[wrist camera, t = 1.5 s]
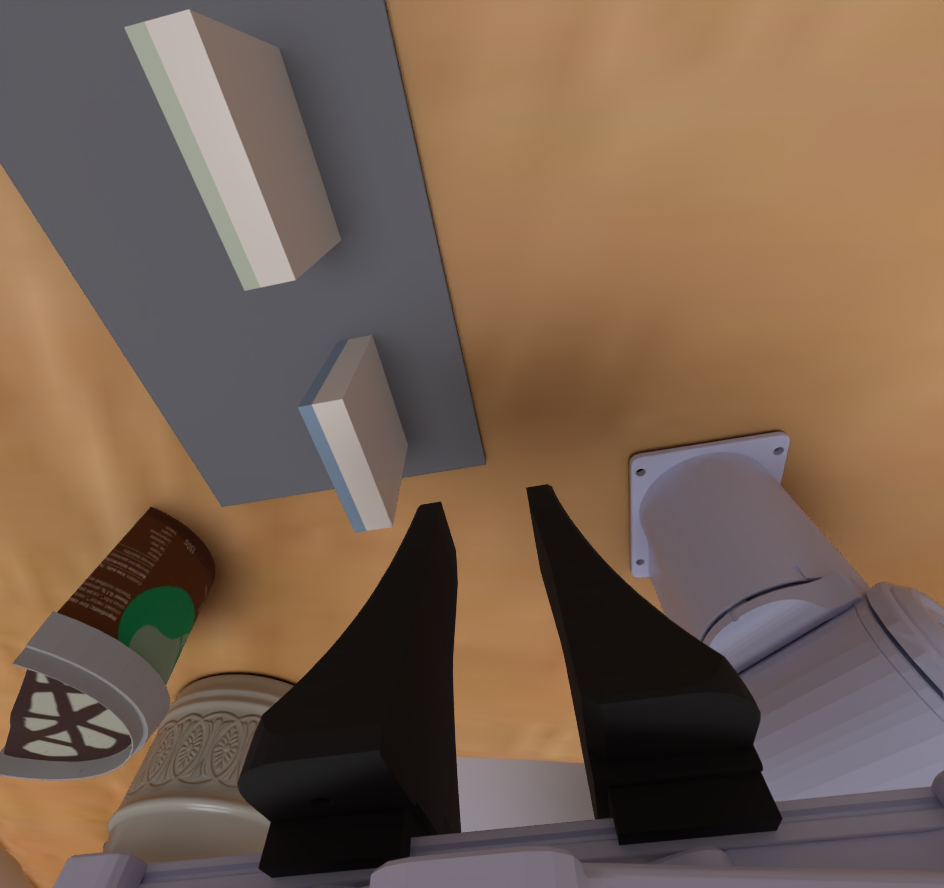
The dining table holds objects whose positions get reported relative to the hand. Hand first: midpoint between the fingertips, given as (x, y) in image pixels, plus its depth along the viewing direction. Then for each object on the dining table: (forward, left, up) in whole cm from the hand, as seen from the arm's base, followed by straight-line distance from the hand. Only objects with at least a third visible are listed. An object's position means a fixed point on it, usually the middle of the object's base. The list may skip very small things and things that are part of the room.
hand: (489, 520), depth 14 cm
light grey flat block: (0, +5, -10) cm, 11 cm away
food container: (-10, +21, -11) cm, 26 cm away
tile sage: (+10, +5, -10) cm, 15 cm away
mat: (+5, +8, -10) cm, 14 cm away
